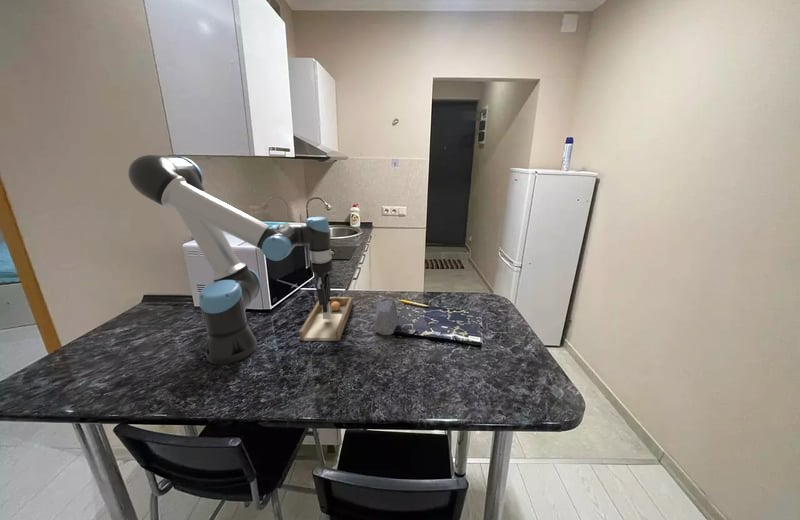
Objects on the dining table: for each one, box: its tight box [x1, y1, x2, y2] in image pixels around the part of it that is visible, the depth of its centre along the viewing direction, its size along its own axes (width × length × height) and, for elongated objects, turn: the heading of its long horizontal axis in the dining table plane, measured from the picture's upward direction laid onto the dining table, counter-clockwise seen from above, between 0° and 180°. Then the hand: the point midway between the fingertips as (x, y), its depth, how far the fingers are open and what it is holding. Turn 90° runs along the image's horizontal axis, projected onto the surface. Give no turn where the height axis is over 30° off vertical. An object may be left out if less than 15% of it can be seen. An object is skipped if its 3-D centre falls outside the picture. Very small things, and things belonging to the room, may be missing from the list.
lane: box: [298, 296, 354, 342], centre depth 121 cm, size 14×28×4 cm, turn 179°
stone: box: [373, 298, 399, 336], centre depth 113 cm, size 12×10×10 cm
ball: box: [331, 301, 340, 311], centre depth 128 cm, size 4×4×4 cm
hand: (326, 318), depth 117 cm, fingers closed
